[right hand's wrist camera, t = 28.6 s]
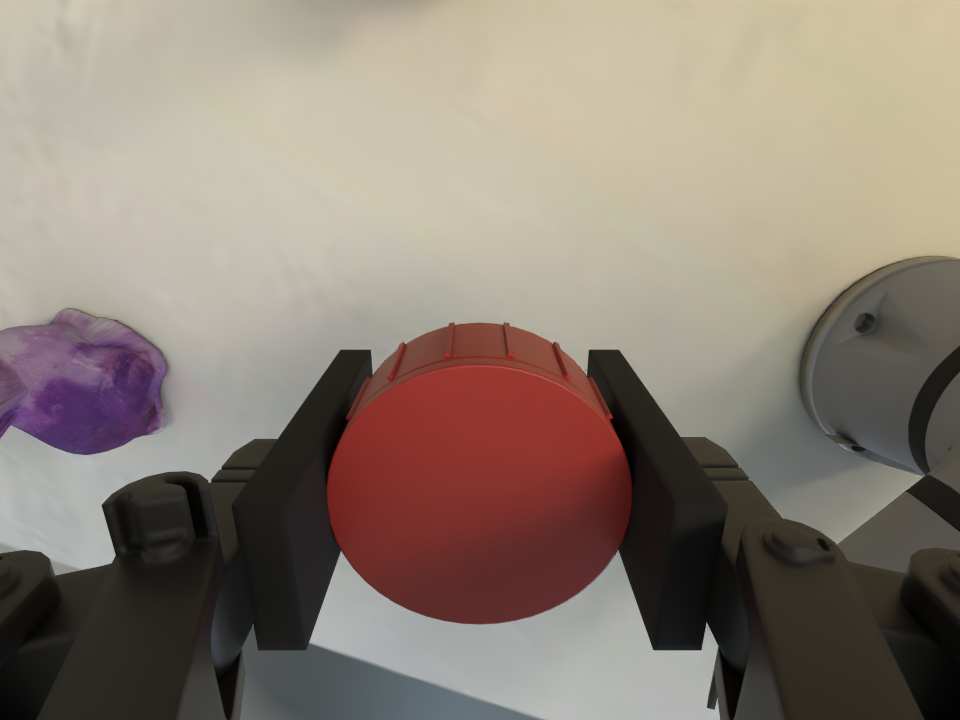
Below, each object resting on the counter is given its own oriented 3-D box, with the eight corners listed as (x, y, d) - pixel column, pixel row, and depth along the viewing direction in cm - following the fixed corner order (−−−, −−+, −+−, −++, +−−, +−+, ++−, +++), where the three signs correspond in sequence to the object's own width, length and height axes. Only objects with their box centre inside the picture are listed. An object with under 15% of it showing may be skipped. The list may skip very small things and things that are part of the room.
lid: (616, 320, 11) (651, 361, 9) (597, 545, 13) (621, 625, 11) (341, 320, 11) (306, 363, 9) (362, 545, 13) (338, 626, 11)
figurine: (15, 302, 39) (-246, 384, 25) (159, 304, 39) (-20, 388, 25) (49, 421, 42) (-165, 553, 28) (182, 423, 42) (34, 557, 28)
